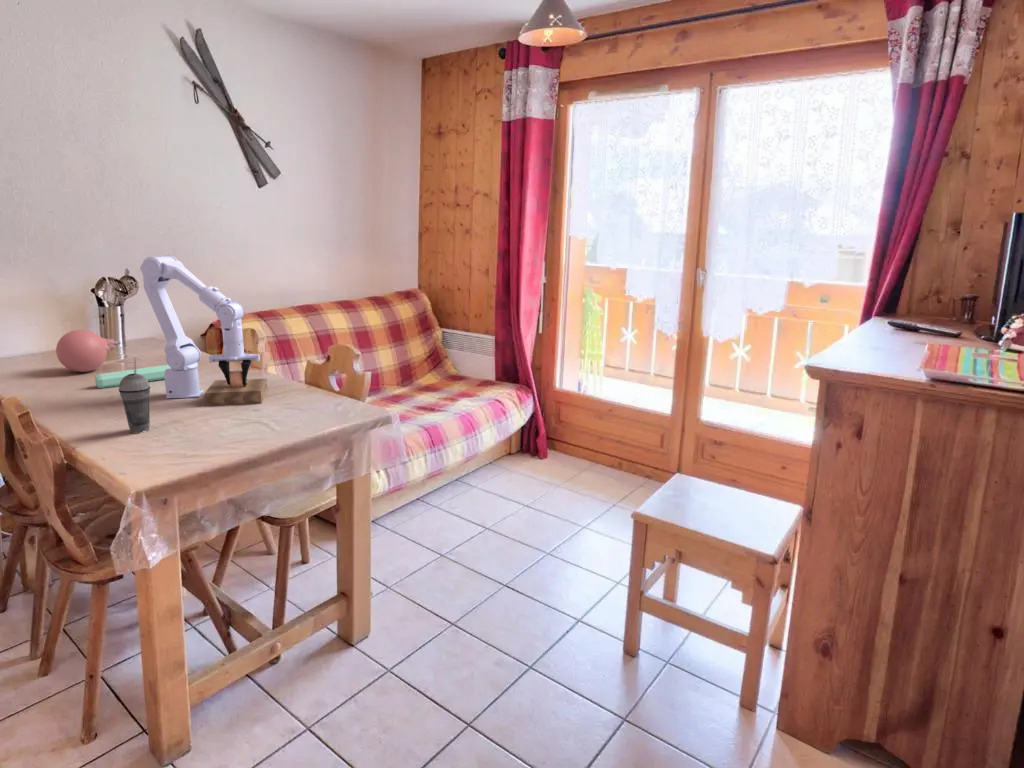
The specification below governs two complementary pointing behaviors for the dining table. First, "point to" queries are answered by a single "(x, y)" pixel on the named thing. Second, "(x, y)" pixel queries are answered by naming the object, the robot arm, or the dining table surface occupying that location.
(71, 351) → the balloon
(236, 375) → the terracotta plug
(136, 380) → the beverage cup
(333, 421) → the dining table surface
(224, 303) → the robot arm
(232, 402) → the walnut bore block
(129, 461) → the dining table surface
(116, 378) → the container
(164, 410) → the dining table surface
